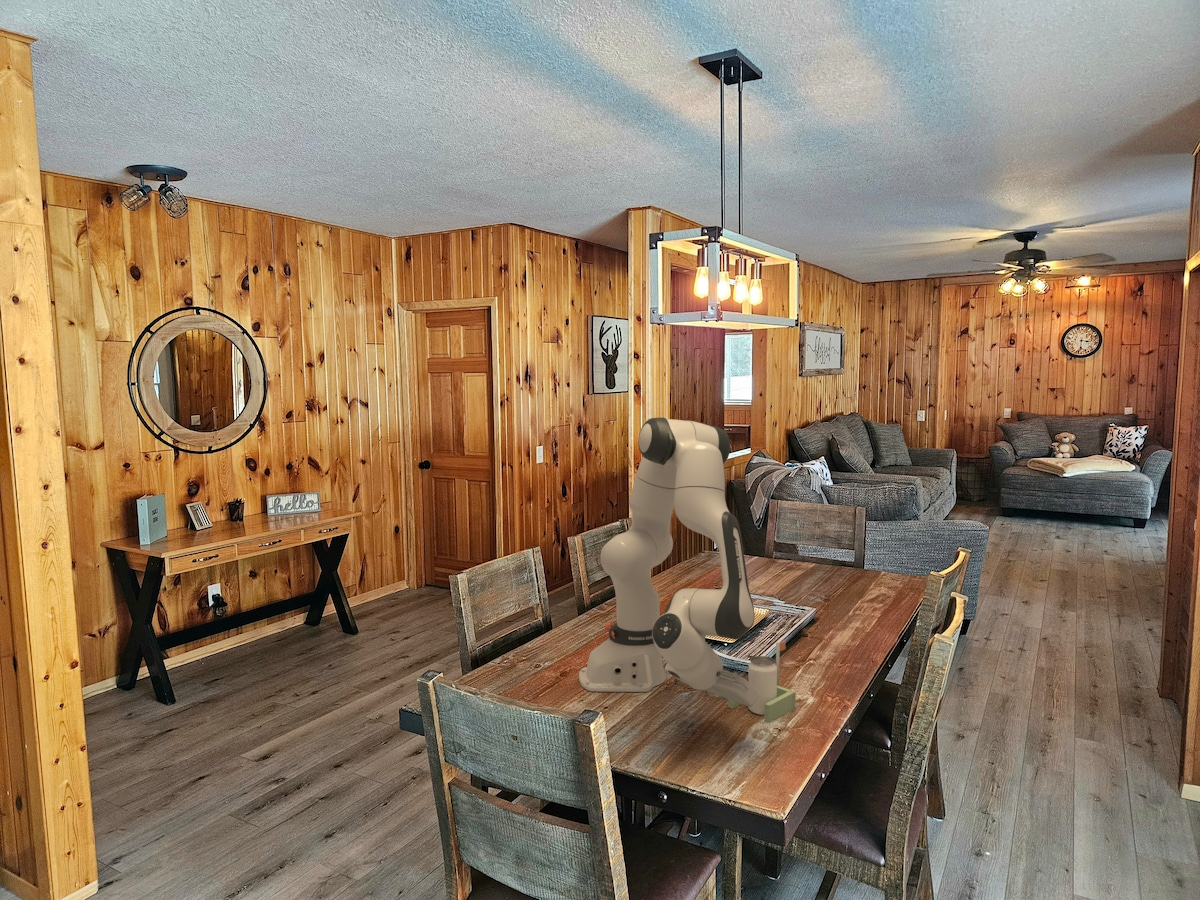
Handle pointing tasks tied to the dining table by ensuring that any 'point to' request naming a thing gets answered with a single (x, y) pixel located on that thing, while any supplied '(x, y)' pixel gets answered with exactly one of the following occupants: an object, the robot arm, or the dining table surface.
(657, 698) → the dining table surface
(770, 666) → the can
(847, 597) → the dining table surface
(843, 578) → the dining table surface
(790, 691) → the olive frame
